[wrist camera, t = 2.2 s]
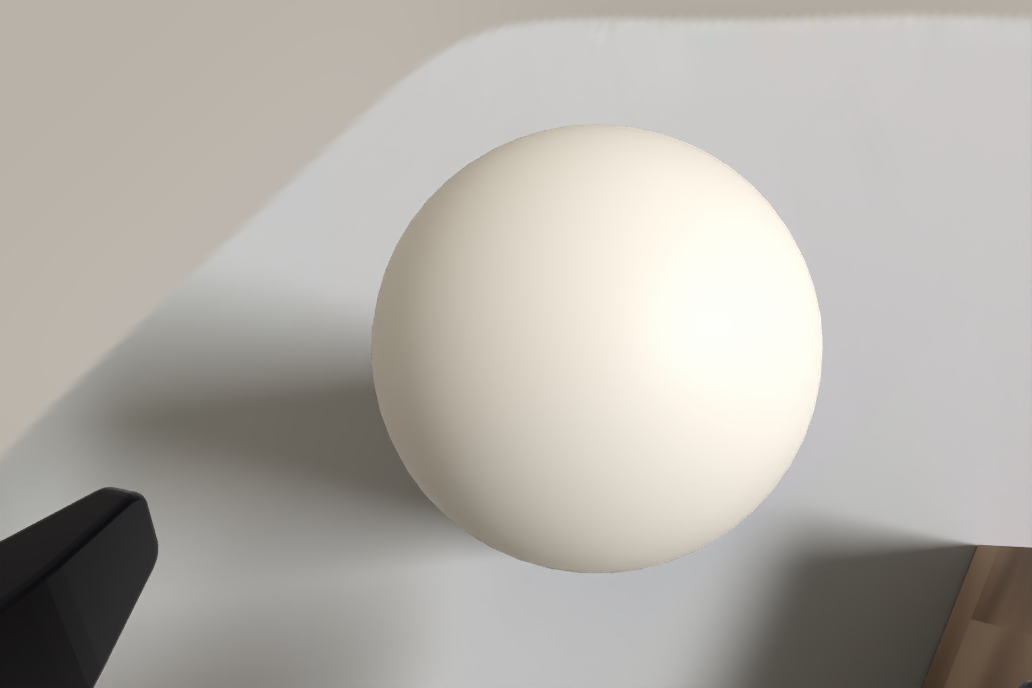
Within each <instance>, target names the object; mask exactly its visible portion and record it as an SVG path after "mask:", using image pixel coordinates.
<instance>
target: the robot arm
mask: <svg viewBox="0 0 1032 688" xmlns="http://www.w3.org/2000/svg"><path fill="white" fill-rule="evenodd" d="M157 555H158V541H157V537H156V533H155V530H154V526H153V522H152V519H151V515H150V512H149V508H148V504H147V501H146V499H145V498H144V497H143V496H142V495H141V494H140V493H137V492H133V491H128V490H124V489H119V488H113V487H107V488H102V489H100V490H97V491H95V492H93V493H91V494H90V495H88V496H86V497H84V498H82V499H80V500H78V501H76V502H74V503H72V504H71V505H69V506H67V507H65V508H63V509H61V510H59V511H57V512H55V513H53V514H52V515H50V516H48V517H46V518H44V519H42V520H40V521H38V522H36V523H34V524H33V525H31V526H29V527H27V528H25V529H23V530H21V531H19V532H17V533H16V534H14V535H12V536H10V537H8V538H6V539H4V540H2V541H0V688H93V687H94V686H95V684H96V682H97V680H98V678H99V676H100V674H101V672H102V671H103V669H104V667H105V665H106V662H107V660H108V658H109V656H110V654H111V652H112V650H113V648H114V646H115V644H116V642H117V640H118V638H119V636H120V634H121V632H122V630H123V628H124V626H125V624H126V622H127V620H128V618H129V616H130V614H131V612H132V610H133V608H134V606H135V604H136V602H137V600H138V598H139V596H140V594H141V592H142V590H143V588H144V586H145V584H146V582H147V580H148V578H149V576H150V574H151V572H152V570H153V568H154V566H155V563H156V560H157ZM1017 688H1032V680H1027V681H1025V682H1023V683H1021V684H1020V685H1019V686H1018V687H1017Z"/></svg>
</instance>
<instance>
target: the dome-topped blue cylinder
mask: <svg viewBox="0 0 1032 688" xmlns="http://www.w3.org/2000/svg"><path fill="white" fill-rule="evenodd" d="M822 349H823V342H822V329H821V316H820V311H819V306H818V302H817V297H816V293H815V288H814V285H813V282H812V279H811V277H810V274H809V271H808V269H807V266H806V263H805V260H804V258H803V256H802V254H801V253H800V251H799V249H798V247H797V245H796V243H795V241H794V239H793V238H792V236H791V234H790V232H789V230H788V229H787V227H786V226H785V225H784V223H783V222H782V220H781V219H780V218H779V216H778V215H777V213H776V212H775V211H774V209H773V208H772V206H771V205H770V204H769V203H768V202H767V201H766V200H765V199H764V198H763V196H762V195H761V194H760V193H759V192H758V191H757V190H756V189H755V188H754V187H753V186H752V185H751V184H750V183H749V182H748V181H746V180H745V179H744V178H743V177H742V176H740V175H739V174H738V173H737V172H735V171H734V170H733V169H732V168H731V167H729V166H728V165H726V164H725V163H723V162H721V161H720V160H718V159H717V158H715V157H713V156H712V155H710V154H709V153H707V152H705V151H703V150H701V149H699V148H697V147H694V146H692V145H690V144H688V143H686V142H684V141H681V140H679V139H676V138H673V137H670V136H666V135H663V134H660V133H657V132H654V131H649V130H644V129H638V128H633V127H628V126H616V125H600V124H593V125H576V126H566V127H561V128H555V129H550V130H544V131H541V132H537V133H534V134H531V135H528V136H524V137H521V138H518V139H516V140H514V141H511V142H509V143H507V144H504V145H502V146H500V147H498V148H495V149H493V150H492V151H490V152H488V153H486V154H485V155H483V156H481V157H480V158H478V159H476V160H475V161H473V162H471V163H470V164H468V165H467V166H466V167H464V168H463V169H462V170H460V171H459V172H458V173H457V174H455V175H454V176H453V177H451V178H450V179H449V180H447V181H446V182H445V183H444V184H443V185H442V186H441V187H440V188H439V189H438V190H437V191H436V192H435V193H434V194H433V195H432V196H431V197H430V198H429V199H428V200H427V202H426V203H425V204H424V205H423V207H422V208H421V209H420V210H419V212H418V213H417V214H416V215H415V217H414V218H413V219H412V221H411V222H410V224H409V225H408V227H407V229H406V230H405V232H404V234H403V235H402V237H401V238H400V240H399V242H398V243H397V245H396V248H395V250H394V252H393V254H392V257H391V259H390V261H389V263H388V265H387V268H386V270H385V274H384V277H383V280H382V284H381V287H380V290H379V294H378V298H377V303H376V309H375V315H374V321H373V327H372V351H371V358H372V369H373V379H374V386H375V391H376V395H377V399H378V404H379V408H380V412H381V415H382V417H383V420H384V423H385V425H386V428H387V431H388V434H389V436H390V439H391V441H392V443H393V445H394V447H395V449H396V451H397V452H398V454H399V456H400V458H401V460H402V462H403V464H404V465H405V467H406V469H407V471H408V472H409V473H410V475H411V476H412V477H413V479H414V480H415V482H416V483H417V484H418V486H419V487H420V489H421V490H422V491H423V493H424V494H425V495H426V496H427V497H428V498H429V499H430V500H431V501H432V502H433V503H434V504H435V505H436V506H437V507H438V508H439V510H440V511H441V512H442V513H443V514H444V515H446V516H447V517H448V518H449V519H451V520H452V521H453V522H454V523H456V524H457V525H458V526H459V527H461V528H462V529H463V530H464V531H466V532H467V533H469V534H470V535H472V536H474V537H475V538H477V539H478V540H480V541H482V542H483V543H485V544H487V545H488V546H490V547H492V548H494V549H496V550H498V551H501V552H503V553H505V554H508V555H510V556H512V557H515V558H517V559H519V560H522V561H526V562H529V563H533V564H537V565H540V566H544V567H547V568H551V569H557V570H565V571H572V572H579V573H615V572H623V571H631V570H638V569H644V568H647V567H651V566H655V565H658V564H662V563H666V562H669V561H672V560H675V559H677V558H679V557H682V556H684V555H686V554H689V553H691V552H693V551H696V550H698V549H700V548H702V547H703V546H705V545H707V544H708V543H710V542H712V541H713V540H715V539H717V538H718V537H720V536H722V535H723V534H725V533H727V532H728V531H729V530H731V529H732V528H733V527H734V526H736V525H737V524H738V523H739V522H741V521H742V520H743V519H744V518H746V517H747V516H748V515H749V514H751V513H752V512H753V511H754V510H755V508H756V507H757V506H758V505H759V504H760V503H761V502H762V501H763V500H764V499H765V498H766V497H767V496H768V495H769V494H770V493H771V492H772V490H773V489H774V488H775V486H776V485H777V483H778V482H779V481H780V479H781V478H782V476H783V475H784V474H785V472H786V471H787V469H788V468H789V467H790V465H791V463H792V461H793V459H794V457H795V455H796V454H797V452H798V450H799V448H800V446H801V444H802V442H803V440H804V438H805V435H806V432H807V429H808V427H809V424H810V421H811V418H812V415H813V412H814V409H815V404H816V399H817V394H818V389H819V384H820V379H821V365H822Z"/></svg>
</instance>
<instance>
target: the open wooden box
mask: <svg viewBox="0 0 1032 688" xmlns="http://www.w3.org/2000/svg"><path fill="white" fill-rule="evenodd" d="M1027 680H1032V548H1028V547H1009V546H990V545H978V546H977V549H976V551H975V554H974V556H973V559H972V561H971V564H970V566H969V569H968V572H967V574H966V577H965V579H964V582H963V584H962V587H961V589H960V592H959V594H958V597H957V599H956V602H955V604H954V607H953V609H952V612H951V615H950V617H949V620H948V622H947V625H946V627H945V630H944V632H943V635H942V637H941V640H940V642H939V645H938V647H937V650H936V653H935V655H934V658H933V660H932V663H931V665H930V668H929V670H928V673H927V675H926V678H925V680H924V683H923V685H922V688H1017V687H1018V686H1019V685H1020V684H1021V683H1023V682H1025V681H1027Z"/></svg>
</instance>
